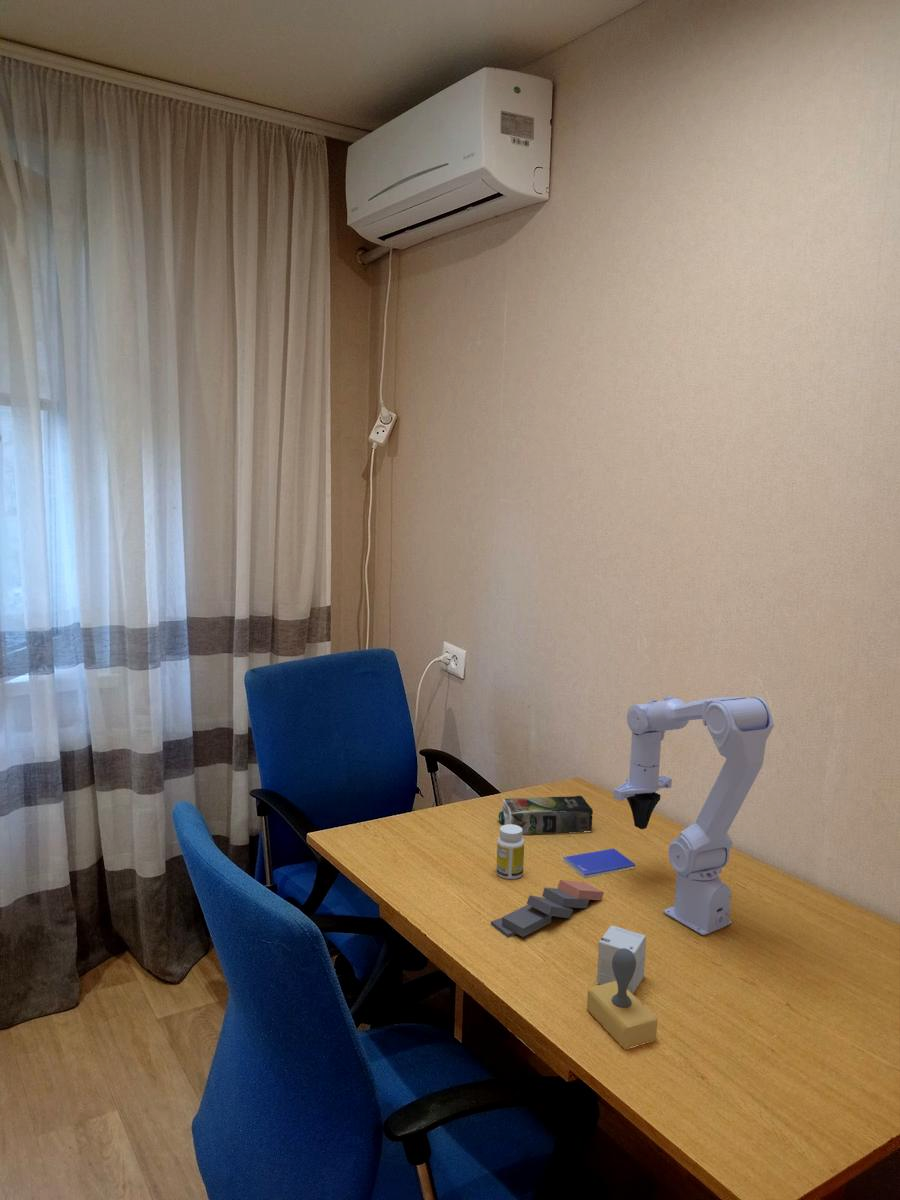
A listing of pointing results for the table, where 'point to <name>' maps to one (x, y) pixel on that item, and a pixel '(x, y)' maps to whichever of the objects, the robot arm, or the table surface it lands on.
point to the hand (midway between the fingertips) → (640, 827)
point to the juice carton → (547, 814)
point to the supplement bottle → (510, 852)
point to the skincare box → (612, 943)
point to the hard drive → (598, 862)
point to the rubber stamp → (622, 1005)
